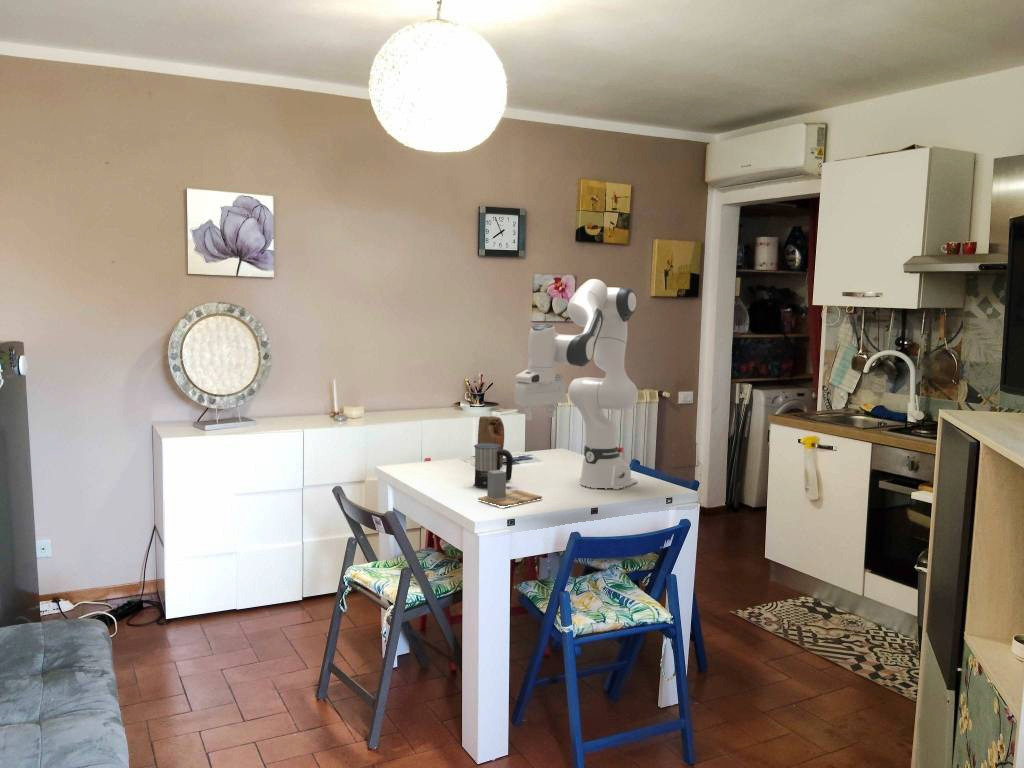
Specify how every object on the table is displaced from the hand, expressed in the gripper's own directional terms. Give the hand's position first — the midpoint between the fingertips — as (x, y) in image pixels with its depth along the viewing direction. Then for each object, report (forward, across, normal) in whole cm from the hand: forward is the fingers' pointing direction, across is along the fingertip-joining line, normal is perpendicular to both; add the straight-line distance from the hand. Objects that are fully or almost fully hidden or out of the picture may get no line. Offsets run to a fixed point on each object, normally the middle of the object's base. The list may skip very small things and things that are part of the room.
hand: (540, 418), depth 262 cm
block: (+29, -30, -56) cm, 70 cm away
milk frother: (+30, -10, -34) cm, 46 cm away
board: (+29, +1, -12) cm, 31 cm away
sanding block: (+28, +6, -13) cm, 32 cm away
